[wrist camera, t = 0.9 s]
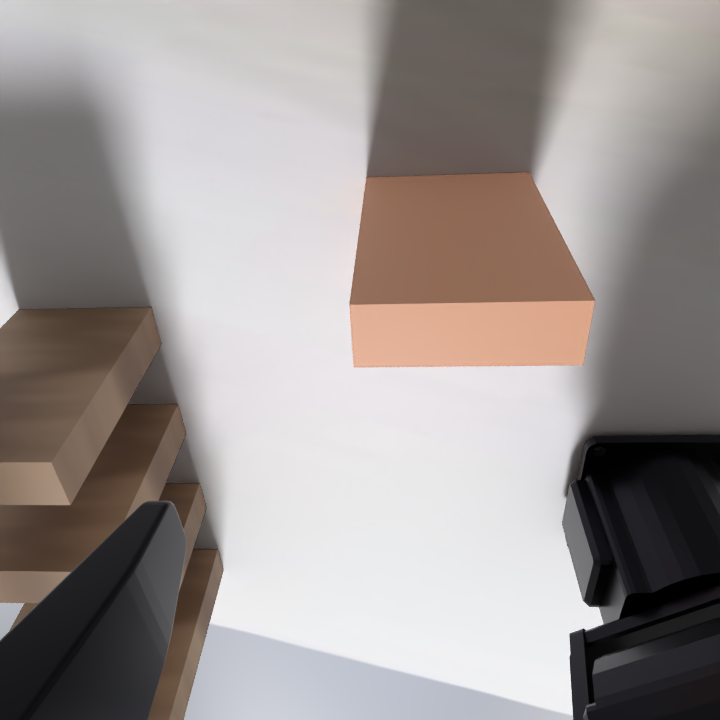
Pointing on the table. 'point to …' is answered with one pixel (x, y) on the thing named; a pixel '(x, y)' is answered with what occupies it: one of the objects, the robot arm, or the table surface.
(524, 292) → the domino
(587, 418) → the table surface
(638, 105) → the table surface
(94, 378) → the domino
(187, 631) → the domino
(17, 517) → the domino
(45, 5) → the table surface
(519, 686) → the table surface
